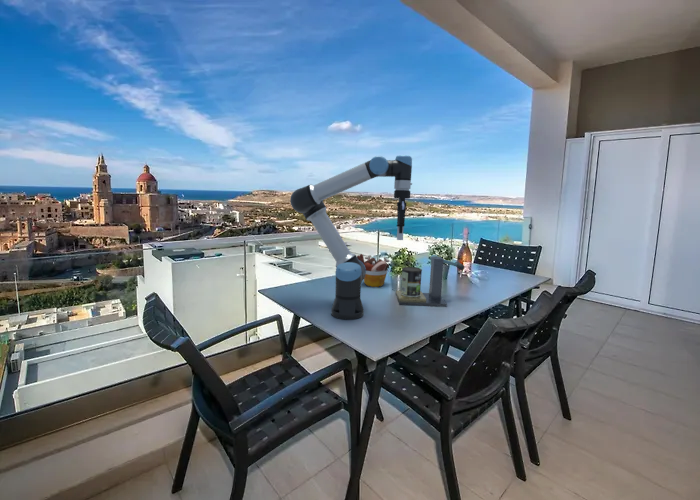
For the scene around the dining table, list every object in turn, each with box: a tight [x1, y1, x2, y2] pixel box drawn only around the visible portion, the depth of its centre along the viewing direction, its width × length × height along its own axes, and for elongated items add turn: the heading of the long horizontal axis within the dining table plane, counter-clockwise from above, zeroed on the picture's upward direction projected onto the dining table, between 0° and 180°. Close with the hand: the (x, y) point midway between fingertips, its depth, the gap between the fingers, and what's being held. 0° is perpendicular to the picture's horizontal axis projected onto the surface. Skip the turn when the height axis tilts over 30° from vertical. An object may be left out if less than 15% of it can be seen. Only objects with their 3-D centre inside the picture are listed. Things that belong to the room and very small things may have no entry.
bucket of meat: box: [356, 253, 390, 288], centre depth 199 cm, size 20×16×20 cm
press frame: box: [395, 256, 448, 308], centre depth 171 cm, size 24×18×24 cm
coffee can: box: [400, 266, 423, 297], centre depth 171 cm, size 10×10×14 cm
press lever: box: [430, 254, 465, 271], centre depth 175 cm, size 18×8×4 cm, turn 89°
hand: (399, 239), depth 154 cm, fingers closed
